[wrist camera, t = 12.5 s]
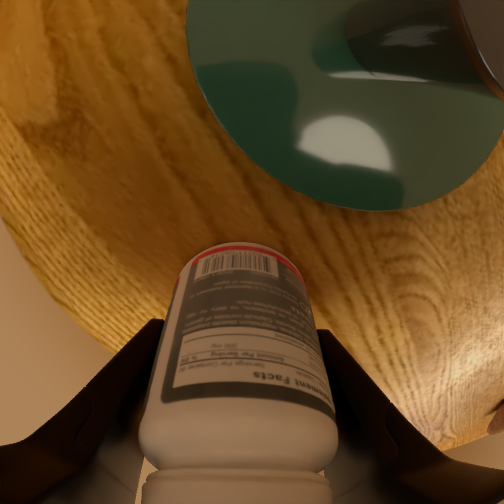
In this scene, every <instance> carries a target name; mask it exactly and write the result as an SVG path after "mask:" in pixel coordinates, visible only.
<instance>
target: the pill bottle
mask: <svg viewBox="0 0 504 504" xmlns="http://www.w3.org/2000/svg"><path fill="white" fill-rule="evenodd" d="M138 440H139V445H140V448H141V451H142V453H143V454H144V456H145V458H146V459H147V460H148V461H149V462H150V463H151V464H152V465H153V466H154V467H156V468H157V469H158V471H155V472H153V473H151V474H150V475H148V476H147V479H146V481H147V482H146V483H144V484H143V486H142V500H141V504H333V490H332V489H331V488H330V487H329V485H330V482H329V480H328V479H327V478H325V477H324V476H322V475H320V474H317V473H318V472H320V471H322V470H323V469H324V468H325V467H327V466H328V464H329V463H330V462H331V461H332V459H333V458H334V456H335V454H336V452H337V448H338V429H337V424H336V419H335V408H334V404H333V401H332V394H331V390H330V386H329V381H328V377H327V373H326V370H325V366H324V361H323V357H322V353H321V348H320V344H319V339H318V335H317V331H316V326H315V322H314V317H313V313H312V309H311V304H310V300H309V295H308V291H307V288H306V285H305V283H304V280H303V278H302V276H301V274H300V272H299V271H298V269H297V268H296V267H295V265H294V264H293V263H292V262H291V261H290V260H289V259H288V258H287V257H285V256H284V255H283V254H281V253H279V252H278V251H276V250H274V249H272V248H270V247H267V246H264V245H260V244H256V243H249V242H231V243H224V244H219V245H216V246H213V247H211V248H208V249H206V250H204V251H203V252H201V253H199V254H198V255H196V256H195V257H194V258H192V259H191V260H190V261H189V262H188V263H187V264H186V265H185V267H184V268H183V269H182V271H181V273H180V274H179V276H178V279H177V281H176V284H175V287H174V290H173V294H172V298H171V301H170V305H169V308H168V312H167V316H166V319H165V323H164V327H163V330H162V334H161V338H160V341H159V345H158V349H157V353H156V357H155V360H154V364H153V368H152V372H151V376H150V380H149V385H148V389H147V393H146V397H145V401H144V405H143V410H142V414H141V418H140V425H139V433H138Z"/></svg>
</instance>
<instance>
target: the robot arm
mask: <svg viewBox="0 0 504 504" xmlns="http://www.w3.org/2000/svg"><path fill="white" fill-rule="evenodd" d="M164 323H165V321H164V320H163V319H155V318H153V319H151V320H150V321H149V322H148V323H147V324H146V325H145V326H144V327H143V328H142V329H141V330H140V331H139V332H138V333H137V334H136V335H135V336H134V337H133V338H132V339H131V340H130V341H129V342H128V343H127V344H126V345H125V346H124V347H123V348H122V349H121V350H120V351H119V352H118V353H117V354H116V355H115V356H114V357H113V358H112V359H111V360H110V361H109V362H108V363H107V364H106V365H105V366H104V367H103V368H102V369H101V370H100V372H98V374H97V375H96V376H95V377H94V378H93V379H92V380H91V381H90V382H89V383H88V384H87V385H86V387H84V388H83V389H82V390H81V391H80V392H79V393H78V394H77V395H76V396H75V397H74V398H73V399H72V400H71V401H70V402H69V403H68V404H67V405H66V406H65V407H64V408H62V410H60V411H59V412H58V413H57V414H56V415H55V416H53V417H52V418H51V419H50V420H48V421H47V422H46V423H45V424H44V425H42V426H41V427H40V428H39V429H37V430H36V431H35V432H34V433H33V434H31V435H30V436H29V437H27V438H26V439H24V440H22V441H20V442H17V443H13V444H9V445H3V446H0V504H135V499H136V493H137V488H138V483H139V478H140V473H141V468H142V464H143V460H144V454H143V453H142V451H141V448H140V445H139V440H138V433H139V425H140V418H141V414H142V410H143V405H144V401H145V397H146V393H147V389H148V385H149V380H150V376H151V372H152V368H153V364H154V360H155V357H156V353H157V349H158V345H159V341H160V338H161V334H162V330H163V327H164ZM316 331H317V335H318V339H319V344H320V348H321V353H322V357H323V361H324V366H325V370H326V373H327V377H328V381H329V386H330V390H331V394H332V401H333V404H334V408H335V419H336V424H337V429H338V448H337V452H336V454H335V456H334V458H333V459H332V461H331V462H330V463H329V464H328V466H327V467H325V468H324V475H325V478H327V479H328V480H329V482H330V485H329V487H330V488H331V489H332V490H333V504H504V470H499V469H494V468H488V467H483V466H478V465H474V464H469V463H465V462H460V461H457V460H454V459H452V458H449V457H448V456H446V455H444V454H443V453H442V452H441V451H440V450H439V449H437V448H436V447H435V446H434V445H433V444H432V443H431V442H430V441H429V440H428V439H427V438H426V437H424V436H423V435H422V434H421V433H420V432H419V431H418V430H417V429H416V428H415V427H414V426H413V425H412V424H411V423H410V422H409V421H408V420H407V419H406V418H405V417H404V416H403V415H402V414H401V412H400V411H399V410H398V409H397V408H396V407H395V406H394V404H393V403H390V400H389V399H388V398H387V396H386V395H385V394H384V393H383V392H382V391H381V389H380V388H379V387H378V386H377V385H376V384H375V383H374V381H373V380H372V379H371V378H370V377H369V376H368V374H367V373H366V372H365V371H364V370H363V369H362V367H361V366H360V365H359V364H358V363H357V362H356V361H355V359H354V358H353V357H352V356H351V355H350V354H349V352H348V351H347V350H346V349H345V348H344V347H343V346H342V344H341V343H340V342H339V341H338V340H337V339H336V338H335V336H334V335H333V334H332V333H331V332H330V331H329V330H327V329H317V330H316Z"/></svg>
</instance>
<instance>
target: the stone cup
mask: <svg viewBox="0 0 504 504" xmlns="http://www.w3.org/2000/svg"><path fill="white" fill-rule="evenodd" d="M502 431H504V403H503V404H502V405H501V407H500V408H499V410H498V411H497V413H496V414H495V415H494V417H493V419H492V421H491V422H490V424H489V426H488V428H487V432H488V433H489V434H490V435H494V434H497V433H500V432H502Z"/></svg>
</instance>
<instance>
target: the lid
mask: <svg viewBox="0 0 504 504" xmlns="http://www.w3.org/2000/svg"><path fill="white" fill-rule="evenodd" d="M186 39H187V47H188V55H189V59H190V62H191V66H192V69H193V73H194V76H195V80H196V82H197V84H198V87H199V89H200V91H201V93H202V96H203V98H204V100H205V102H206V104H207V106H208V107H209V109H210V111H211V112H212V114H213V115H214V117H215V119H216V120H217V122H218V124H219V125H220V126H221V128H222V129H223V130H224V131H225V133H226V134H227V135H228V136H229V138H230V139H231V140H232V141H233V143H234V144H235V145H236V146H237V147H238V148H239V149H240V150H241V151H242V152H243V153H244V154H245V155H246V156H247V157H248V158H249V159H250V160H251V161H252V162H253V163H255V164H256V165H257V166H259V167H260V168H261V169H262V170H264V171H265V172H266V173H268V174H269V175H270V176H271V177H273V178H274V179H276V180H278V181H279V182H281V183H283V184H284V185H286V186H288V187H289V188H291V189H293V190H294V191H297V192H299V193H301V194H303V195H306V196H308V197H310V198H312V199H314V200H317V201H320V202H324V203H327V204H330V205H333V206H336V207H342V208H347V209H352V210H358V211H374V212H382V211H398V210H403V209H408V208H413V207H417V206H420V205H423V204H426V203H429V202H432V201H434V200H436V199H438V198H440V197H442V196H444V195H446V194H448V193H450V192H452V191H453V190H454V189H456V188H457V187H459V186H460V185H462V184H463V183H464V182H466V181H467V180H468V179H469V178H470V177H471V176H472V175H473V174H475V173H476V172H477V170H478V169H479V168H480V167H481V166H482V165H483V163H484V162H485V161H486V160H487V159H488V157H489V156H490V154H491V153H492V151H493V149H494V148H495V146H496V145H497V143H498V141H499V139H500V136H501V134H502V132H503V130H504V0H188V4H187V9H186Z"/></svg>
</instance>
